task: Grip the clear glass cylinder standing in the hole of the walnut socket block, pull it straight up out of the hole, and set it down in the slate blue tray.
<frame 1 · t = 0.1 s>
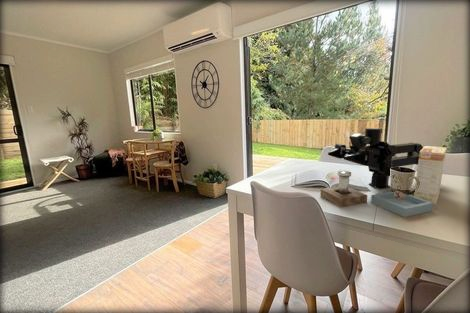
hand: (335, 155, 93), 17 cm above the table, tool horizontal, fingers open, 9 cm apart
socket block: (342, 198, 91), on the table
eye dropper bottle: (392, 175, 119), on the table
tray: (400, 206, 83), on the table
coffeecake box: (426, 197, 91), on the table
clear glass cylinder: (343, 185, 90), in the socket block
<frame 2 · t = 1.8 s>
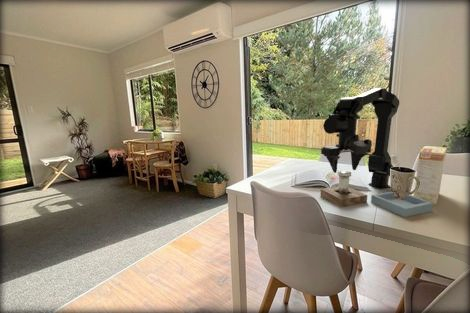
hand: (344, 171, 89), 12 cm above the table, tool pointing down, fingers open, 9 cm apart
nothing on the table moved.
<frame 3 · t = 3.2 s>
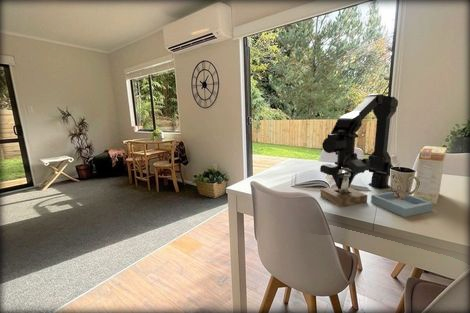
hand: (343, 188, 90), 5 cm above the table, tool pointing down, fingers closed on clear glass cylinder, 4 cm apart
clear glass cylinder: (343, 185, 90), in the socket block, touching gripper
everything else where it was.
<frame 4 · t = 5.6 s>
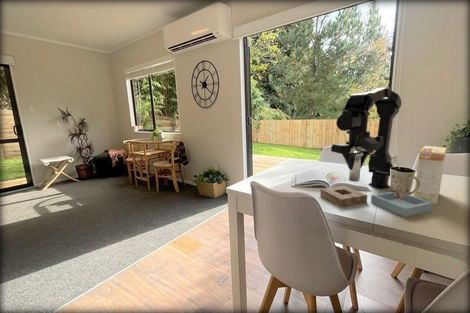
hand: (355, 169, 87), 13 cm above the table, tool pointing down, fingers closed on clear glass cylinder, 4 cm apart
clear glass cylinder: (355, 166, 87), point 14 cm above the table, touching gripper
everything else where it was.
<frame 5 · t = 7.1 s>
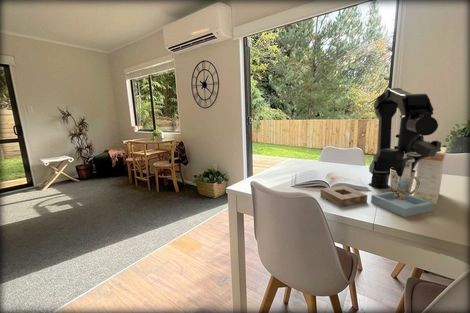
hand: (403, 175, 80), 12 cm above the table, tool pointing down, fingers closed on clear glass cylinder, 4 cm apart
clear glass cylinder: (404, 172, 80), point 13 cm above the table, touching gripper
everything else where it was.
when the fingers open (6 cm above the table, at t = 8.2 s): clear glass cylinder stays where it is, resting on tray.
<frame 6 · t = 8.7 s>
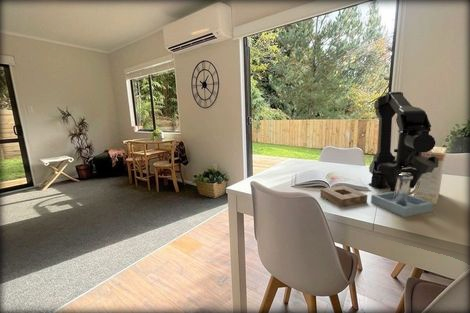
hand: (402, 189, 81), 6 cm above the table, tool pointing down, fingers open, 9 cm apart
clear glass cylinder: (402, 189, 81), in the tray, point 7 cm above the table
everything else where it was.
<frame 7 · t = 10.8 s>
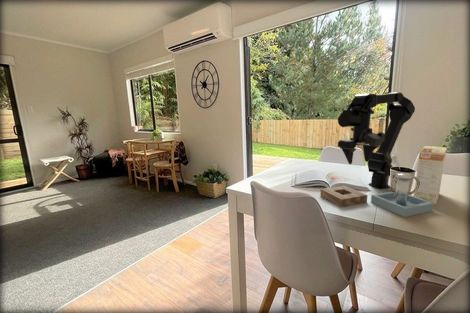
hand: (358, 162, 96), 13 cm above the table, tool pointing down, fingers open, 9 cm apart
nothing on the table moved.
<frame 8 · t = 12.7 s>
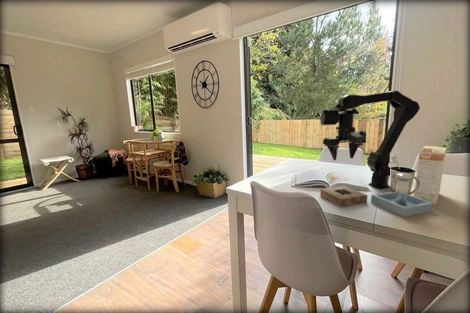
hand: (343, 159, 102), 13 cm above the table, tool pointing down, fingers open, 9 cm apart
nothing on the table moved.
at the end: clear glass cylinder inside the target area on the tray (0.0 cm from its centre), point 6.6 cm above the tray's base; the gripper is holding nothing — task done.
